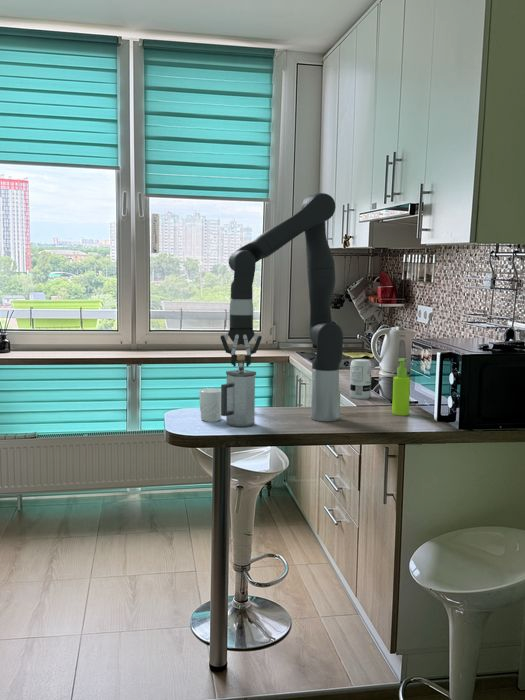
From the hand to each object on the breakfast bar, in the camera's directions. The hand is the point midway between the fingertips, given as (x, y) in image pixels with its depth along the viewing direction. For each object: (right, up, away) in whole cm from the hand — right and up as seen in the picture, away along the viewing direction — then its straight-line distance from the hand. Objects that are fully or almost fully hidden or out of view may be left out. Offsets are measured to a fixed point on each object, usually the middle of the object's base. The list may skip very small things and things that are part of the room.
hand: (240, 366), depth 216 cm
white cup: (-10, -18, +9) cm, 23 cm away
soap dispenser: (+56, -18, +21) cm, 62 cm away
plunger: (0, -16, +2) cm, 16 cm away
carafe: (-1, -19, +2) cm, 19 cm away
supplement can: (+46, -14, +50) cm, 69 cm away
